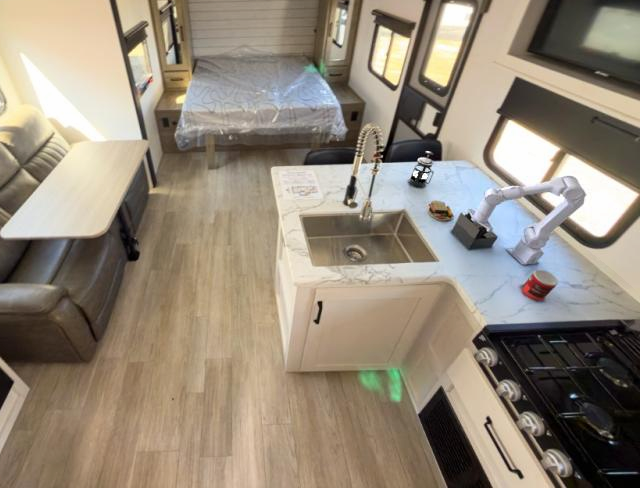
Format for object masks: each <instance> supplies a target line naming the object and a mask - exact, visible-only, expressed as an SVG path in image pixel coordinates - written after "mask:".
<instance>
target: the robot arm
mask: <svg viewBox="0 0 640 488" xmlns="http://www.w3.org/2000/svg"><path fill="white" fill-rule="evenodd" d="M483 193H484V194H483V195H484V197H483V198H482V200H481V202H480V204H479V205H478V207H477V209H476V210H474V209H473V208H468V209H467V210H466V214H464V215H465V216H466V217H467V218H468V219H469V220H470V221H471V222H473V221H474V222H477V223H479V224H481V225H482V226H483V227H479V228H478V229H479V230H480V231H479V233H478V234H477V236H476V238H480V237H482V236H483V235H484V234H486V233H488V232H491V231H492V232H493V230H494V227H493V226H492V225H491V223H490V222H489V219H490V217H491V216H492V214H493V213H494V210H495V209H496V207H497V206H499V205H501V204H502V203H504V202H508V201H513V200H519V199H522V198H523V197H524V196H528V195H536V194H544V193H545V194H546V193H550V194H553V195H555V196H557V197H560V196H561V195H562V197H563V198H564V199H563V200H562V201H561V202H560V203H559V204H558V205H557V206H556V207H554V208H553V209H552V210H551V211H550V212H549V213H548V214H547V215H545V217H544V218H543V219H541V221H539V222H538V223H532V224H531V225H529V226H526V227H525V228H524V229H523V236H522V237H521V238H520V239H519V241H518V242H517V244H516V245H515V246H514V248H509V249H507V252H508V253H509V254H511V256H512V257H513V258H515V259H516V260H517V261H518V262H519V263H520V264H522V265H523V266H524V265H533V264H538V261H539V260H540V259H542V256H543V255H544V251H543V250H542V248H544V247H545V246H546V245H547V242H548V241H549V240H550V237H551V233H552V232H553V231H554V230H555V229H556V228H558V227H559V226H560V225H561V224H563V222H565V221H567V219H568V218H569V217H571V216H572V215H573V214H574V213H575V212H577V211H578V210H579V209H580V208H581V207H582V206H583V205H584V204H585V198H586V196H587V193H586V191H585V190H584V189H583V187H582V186H581V184H580V182H579V180H578V179H577V178H576V177H575V176H573V175H564V176H560V177H559V176H557V177H554V178H553V179H551V180H548V181H543V182H539V183H536V184H530V185H527V186H519V185H510V186H508V187H503V188H489V189H487V190H486V191H485V190H484V192H483Z"/></svg>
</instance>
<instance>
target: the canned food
mask: <svg viewBox="0 0 640 488" xmlns="http://www.w3.org/2000/svg"><path fill="white" fill-rule="evenodd" d="M558 283H559V280H558V279H557V277H556V276H555V275H554V274H552V273H551V272H549V271H546V270H545V269H536V270H535V271H533V273H532V274H531V275H530V276H529V278H528V279H527V280H526V281H525V282H524V283H523V285H522V286H521V291H522V293H523V294H524V295H525V296H526V297H527V298H528V299H531V300H532V301H536V302H537V301H543V300H544V299H546V297H547V296H548V295H549V294H550V293H551V292H552V291H553V290H554V289H555V288H556V286H557V285H558Z"/></svg>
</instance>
